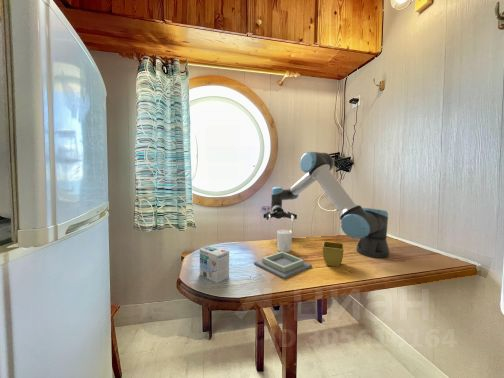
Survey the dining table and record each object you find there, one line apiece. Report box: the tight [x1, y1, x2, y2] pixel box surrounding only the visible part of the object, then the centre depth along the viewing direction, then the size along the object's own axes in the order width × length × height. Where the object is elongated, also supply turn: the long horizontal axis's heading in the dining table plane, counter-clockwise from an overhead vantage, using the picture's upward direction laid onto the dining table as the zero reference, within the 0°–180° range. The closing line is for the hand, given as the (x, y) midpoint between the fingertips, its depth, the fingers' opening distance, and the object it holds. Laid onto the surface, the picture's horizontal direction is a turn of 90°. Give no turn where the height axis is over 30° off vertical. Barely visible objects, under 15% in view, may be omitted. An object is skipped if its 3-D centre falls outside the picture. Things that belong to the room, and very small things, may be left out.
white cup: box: [276, 229, 293, 253], centre depth 120 cm, size 8×8×10 cm
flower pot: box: [322, 240, 345, 268], centre depth 102 cm, size 9×9×9 cm
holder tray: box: [253, 251, 313, 280], centre depth 101 cm, size 18×18×3 cm
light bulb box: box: [199, 244, 230, 284], centre depth 89 cm, size 11×7×11 cm, turn 51°
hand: (281, 219), depth 129 cm, fingers open, 13 cm apart
